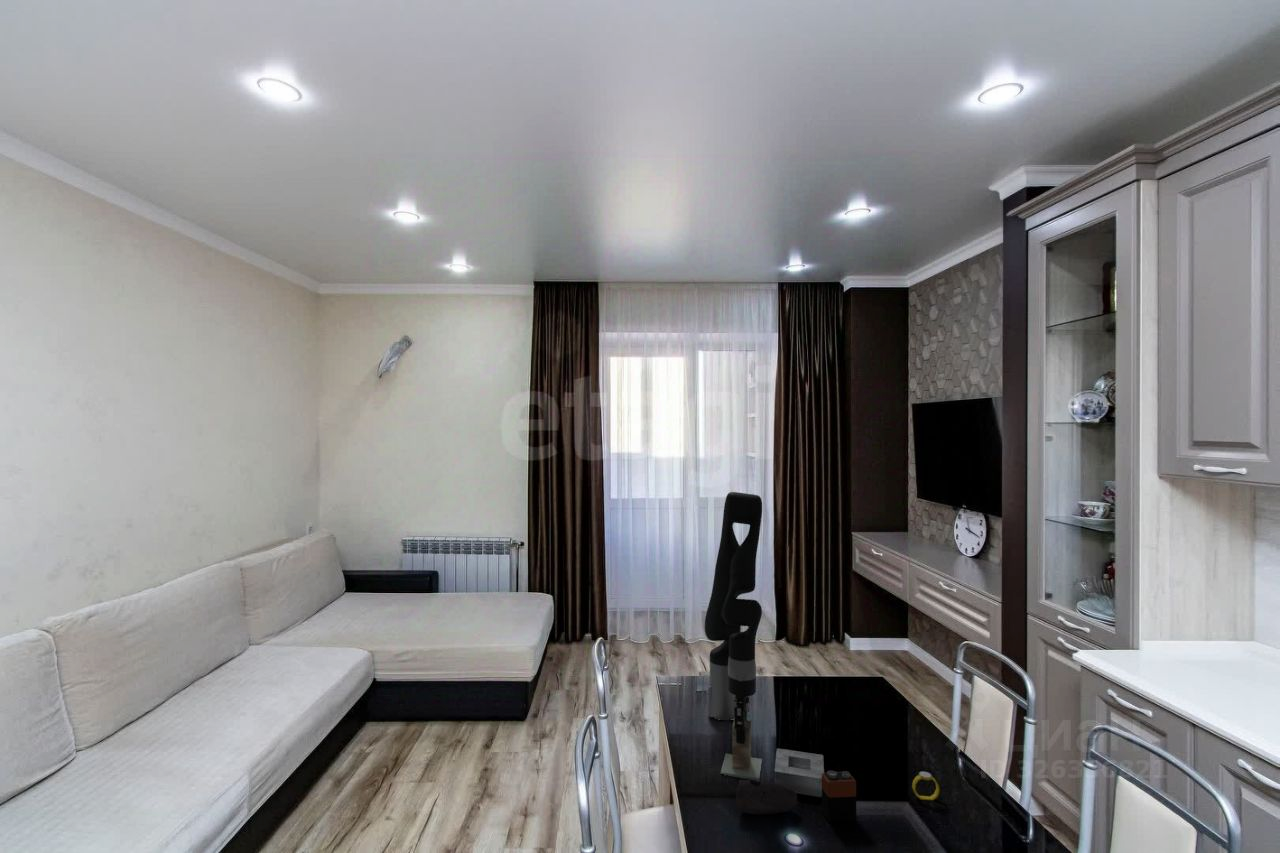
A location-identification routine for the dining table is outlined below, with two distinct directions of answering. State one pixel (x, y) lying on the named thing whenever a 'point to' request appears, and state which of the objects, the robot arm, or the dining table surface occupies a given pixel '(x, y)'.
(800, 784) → the post block
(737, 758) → the birch peg
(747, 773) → the sage mat
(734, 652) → the robot arm
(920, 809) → the dining table surface
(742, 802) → the perforated stone tool
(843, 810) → the battery
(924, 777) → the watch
